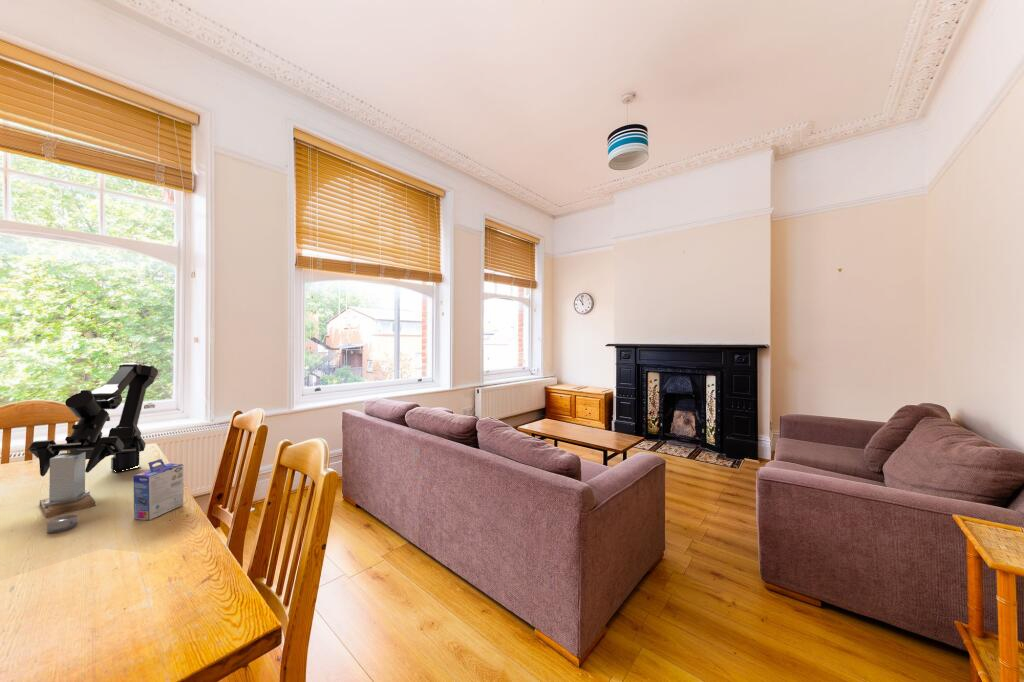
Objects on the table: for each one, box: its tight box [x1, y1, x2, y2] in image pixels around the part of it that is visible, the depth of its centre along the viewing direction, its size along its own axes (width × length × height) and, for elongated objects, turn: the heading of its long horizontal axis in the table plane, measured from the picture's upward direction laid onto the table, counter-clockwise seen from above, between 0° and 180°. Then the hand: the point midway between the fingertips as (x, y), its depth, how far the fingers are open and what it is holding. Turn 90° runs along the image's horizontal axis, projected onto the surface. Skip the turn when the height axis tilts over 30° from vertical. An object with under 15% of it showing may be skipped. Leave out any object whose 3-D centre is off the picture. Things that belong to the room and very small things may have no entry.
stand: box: [39, 489, 97, 518], centre depth 109 cm, size 9×13×2 cm
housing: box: [43, 452, 91, 506], centre depth 109 cm, size 6×6×13 cm
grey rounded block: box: [46, 514, 78, 535], centre depth 96 cm, size 5×5×2 cm
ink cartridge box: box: [132, 458, 184, 521], centre depth 107 cm, size 10×6×14 cm, turn 174°
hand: (64, 473), depth 107 cm, fingers open, 9 cm apart
